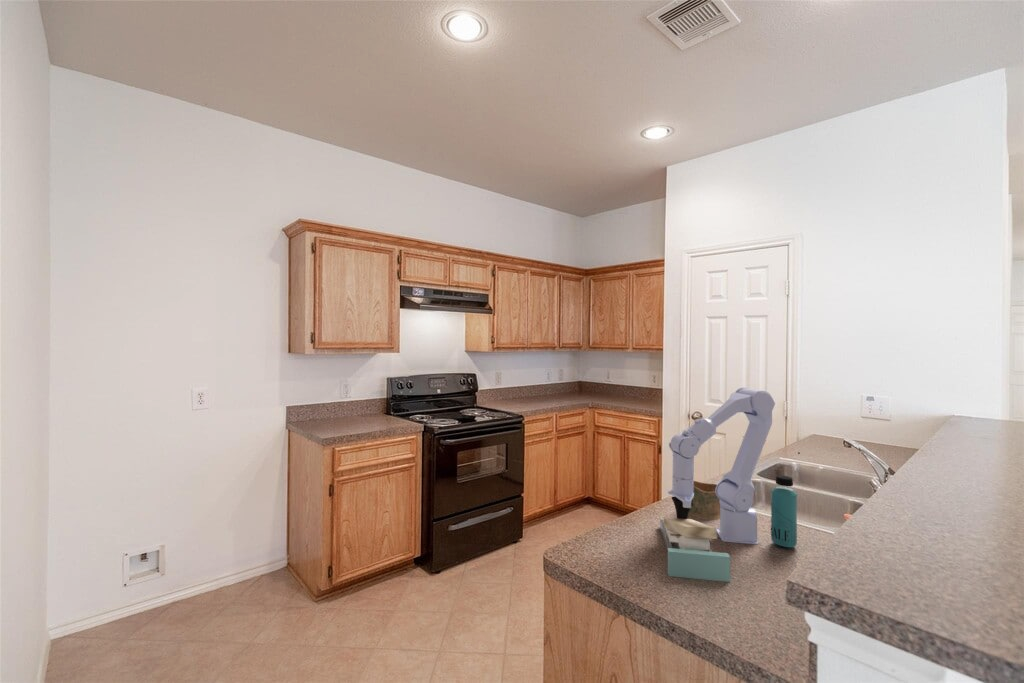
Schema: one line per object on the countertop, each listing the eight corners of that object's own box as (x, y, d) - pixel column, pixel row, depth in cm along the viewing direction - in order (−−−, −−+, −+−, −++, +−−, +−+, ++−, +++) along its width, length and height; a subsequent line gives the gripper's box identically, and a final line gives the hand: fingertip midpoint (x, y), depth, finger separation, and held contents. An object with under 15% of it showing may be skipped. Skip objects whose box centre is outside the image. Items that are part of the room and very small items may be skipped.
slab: (691, 528, 130) (691, 519, 131) (716, 538, 115) (716, 528, 115) (664, 526, 130) (663, 517, 131) (685, 536, 115) (684, 526, 115)
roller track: (696, 531, 138) (696, 517, 138) (719, 576, 111) (719, 559, 111) (659, 528, 140) (660, 514, 140) (674, 571, 113) (674, 555, 113)
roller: (710, 538, 116) (709, 552, 116) (699, 533, 120) (698, 547, 120) (689, 538, 114) (687, 553, 114) (679, 533, 117) (677, 548, 117)
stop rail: (727, 577, 110) (727, 553, 110) (730, 582, 108) (730, 557, 108) (667, 571, 113) (667, 547, 113) (668, 576, 111) (669, 551, 111)
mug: (747, 525, 143) (747, 486, 143) (687, 518, 148) (687, 481, 148) (740, 511, 154) (740, 476, 154) (684, 506, 159) (685, 471, 159)
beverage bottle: (794, 544, 129) (794, 474, 129) (800, 554, 123) (801, 481, 123) (768, 541, 131) (768, 472, 131) (773, 551, 125) (773, 478, 125)
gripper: (665, 468, 139) (664, 512, 139) (672, 483, 125) (671, 532, 125) (689, 470, 137) (688, 514, 138) (699, 485, 123) (698, 535, 123)
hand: (682, 523), depth 131 cm, fingers closed, pressing on slab
